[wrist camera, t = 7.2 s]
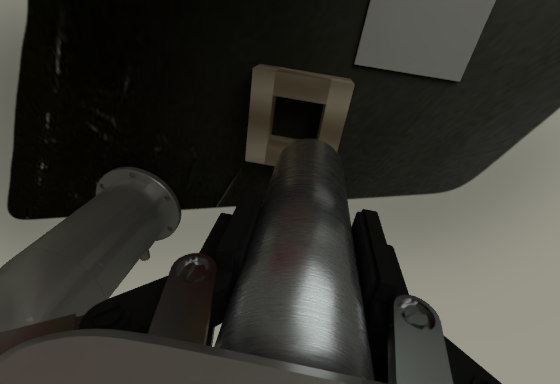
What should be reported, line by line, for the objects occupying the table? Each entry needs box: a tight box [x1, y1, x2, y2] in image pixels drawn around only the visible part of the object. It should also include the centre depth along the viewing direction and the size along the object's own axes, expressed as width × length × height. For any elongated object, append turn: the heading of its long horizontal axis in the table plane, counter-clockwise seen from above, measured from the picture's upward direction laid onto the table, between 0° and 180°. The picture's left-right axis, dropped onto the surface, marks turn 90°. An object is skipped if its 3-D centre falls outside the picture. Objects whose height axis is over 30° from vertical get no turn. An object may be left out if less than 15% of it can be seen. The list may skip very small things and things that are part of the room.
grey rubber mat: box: [354, 0, 496, 82], centre depth 27 cm, size 11×11×1 cm
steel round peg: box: [215, 139, 375, 381], centre depth 11 cm, size 4×4×13 cm
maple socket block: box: [245, 64, 354, 166], centre depth 31 cm, size 10×10×4 cm
